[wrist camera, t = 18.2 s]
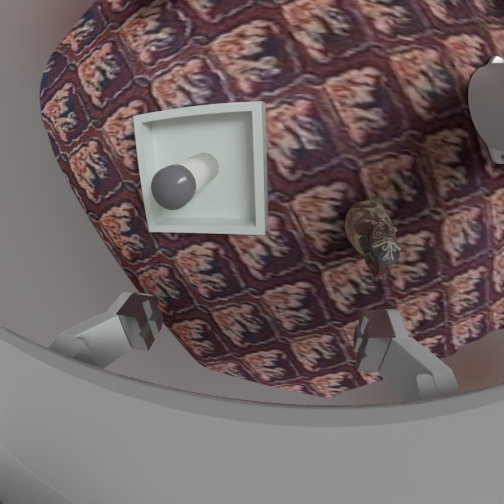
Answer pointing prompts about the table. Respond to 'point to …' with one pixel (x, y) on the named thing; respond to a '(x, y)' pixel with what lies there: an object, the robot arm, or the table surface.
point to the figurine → (372, 235)
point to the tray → (227, 155)
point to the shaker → (183, 180)
